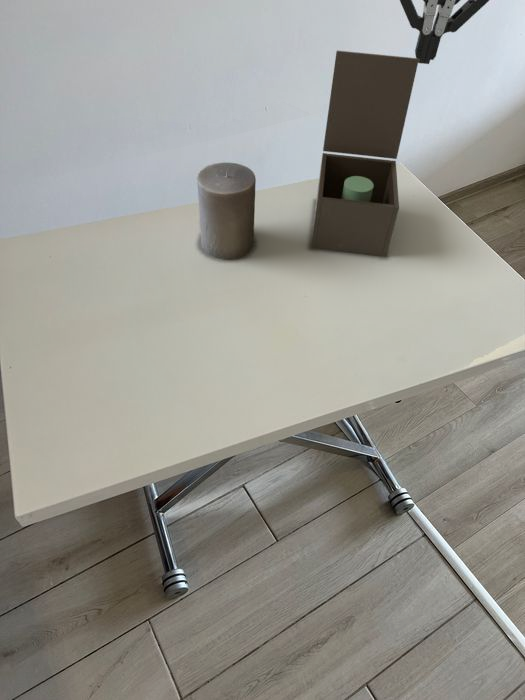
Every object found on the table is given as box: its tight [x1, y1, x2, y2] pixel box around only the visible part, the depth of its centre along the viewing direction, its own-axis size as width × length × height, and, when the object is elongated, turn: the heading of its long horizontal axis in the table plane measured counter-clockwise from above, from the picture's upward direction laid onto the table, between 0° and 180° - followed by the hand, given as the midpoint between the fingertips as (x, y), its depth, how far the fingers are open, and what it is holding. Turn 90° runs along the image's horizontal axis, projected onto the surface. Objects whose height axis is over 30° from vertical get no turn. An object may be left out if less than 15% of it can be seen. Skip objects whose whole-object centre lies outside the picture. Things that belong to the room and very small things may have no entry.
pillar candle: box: [196, 162, 257, 261], centre depth 91 cm, size 10×10×15 cm
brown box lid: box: [322, 50, 419, 160], centre depth 93 cm, size 16×14×1 cm
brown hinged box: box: [310, 152, 400, 258], centre depth 97 cm, size 16×14×11 cm
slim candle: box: [342, 176, 374, 202], centre depth 98 cm, size 5×5×9 cm
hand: (423, 61), depth 76 cm, fingers closed
